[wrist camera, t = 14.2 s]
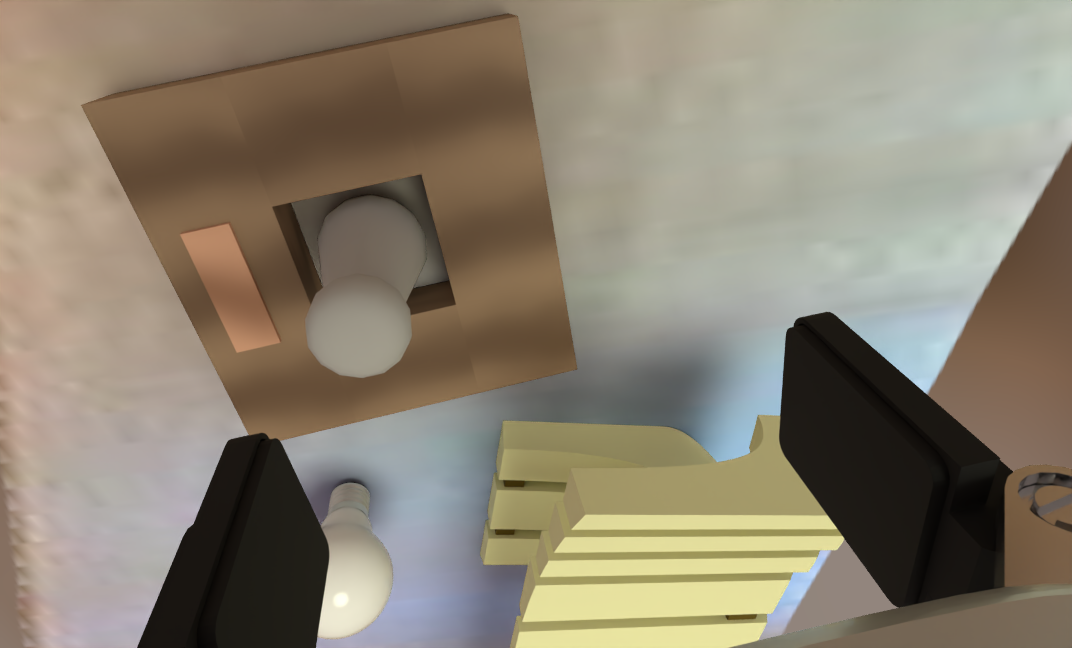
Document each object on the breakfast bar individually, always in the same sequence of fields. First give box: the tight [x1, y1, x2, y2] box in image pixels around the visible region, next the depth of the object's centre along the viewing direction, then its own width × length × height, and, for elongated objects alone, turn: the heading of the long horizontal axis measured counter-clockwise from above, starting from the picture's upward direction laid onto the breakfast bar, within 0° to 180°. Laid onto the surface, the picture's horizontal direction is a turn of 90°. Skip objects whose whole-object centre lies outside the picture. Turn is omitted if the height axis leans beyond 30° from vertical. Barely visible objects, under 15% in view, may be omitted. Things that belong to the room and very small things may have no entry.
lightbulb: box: [317, 483, 393, 639], centre depth 40 cm, size 6×6×11 cm
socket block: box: [81, 13, 577, 441], centre depth 35 cm, size 20×20×4 cm
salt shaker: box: [305, 194, 427, 378], centre depth 31 cm, size 6×6×13 cm
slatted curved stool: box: [480, 415, 844, 648], centre depth 41 cm, size 30×16×18 cm, turn 171°
